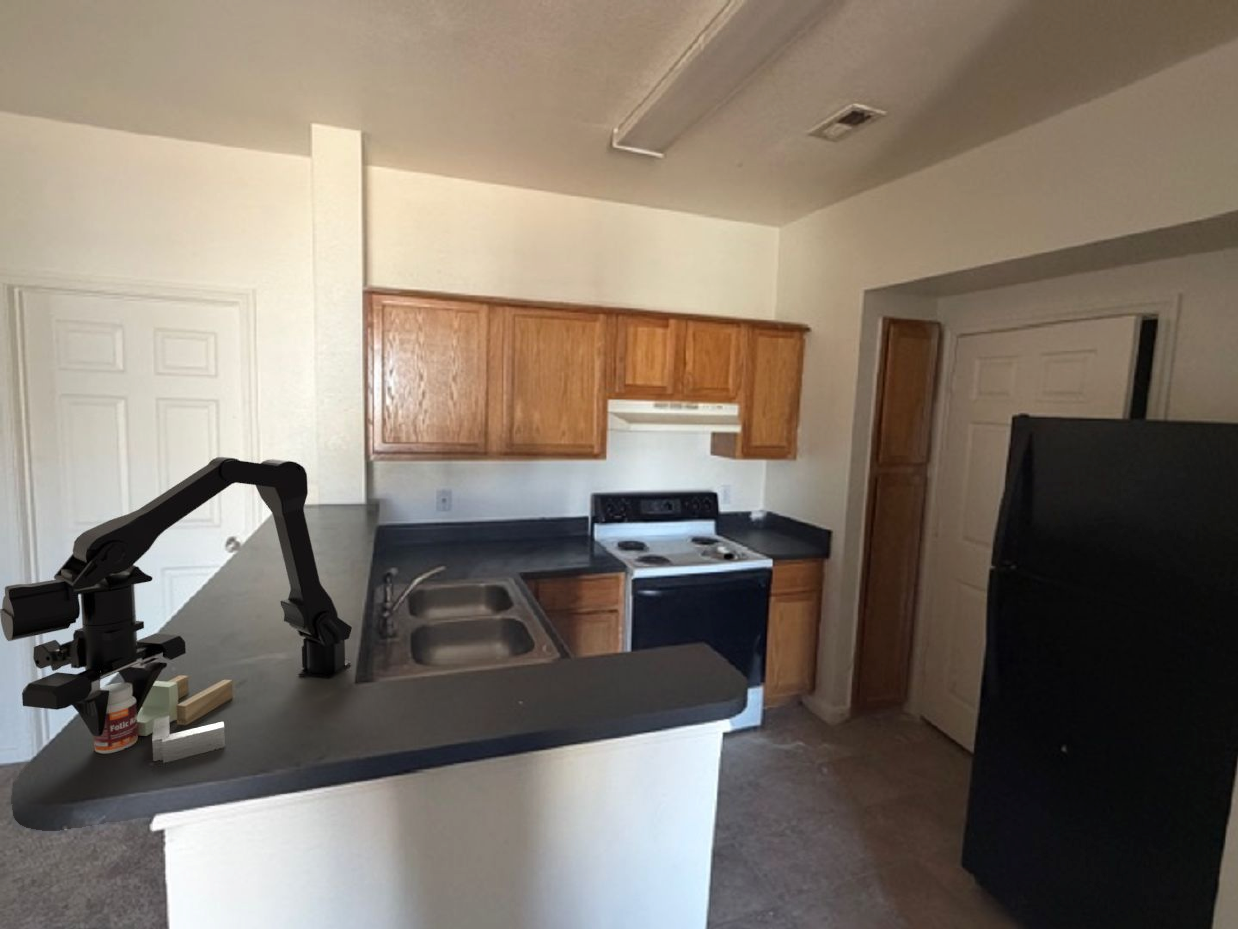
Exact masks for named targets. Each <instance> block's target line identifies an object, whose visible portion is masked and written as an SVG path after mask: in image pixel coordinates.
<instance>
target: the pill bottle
mask: <svg viewBox="0 0 1238 929" xmlns="http://www.w3.org/2000/svg"><path fill="white" fill-rule="evenodd" d="M100 690H109V698H108V705H107V712H106V719H105V725H104V729H103V733H102V735H101V736H93V743H94V751H95V752H96V753H99V754H101V755H102V754H103V755H104V754H112V753H116V752H120V751H123V750H125V748H126V749H128V748H130V747H132V746H134V745H135V743H136V742H138V738H139V737H138V736H139V735H137V732H138V731H137V709H136V708H137V707H136V699H135V697H133V696H132V692H133V690H132V684H131V683H126V682H125V683H124V682H116V683H111V684H106V685H105V686H104V685H103V686H102V687H100Z"/></svg>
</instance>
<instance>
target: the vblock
mask: <svg viewBox="0 0 1238 929" xmlns="http://www.w3.org/2000/svg"><path fill="white" fill-rule="evenodd" d="M170 723H171V722H170V719H169V716H166V717H161V718H157V719H154V724H153V732H152V738H151V739H152V740H151V741H152V760H153V761H156V760H160V761H162V763H163V764H166V763H170V762H174V761H177V760H181V759H185V758H188V757H191V756H197V755H200V754H203V753H208V752H211V751H215V749H216V750H219V748H220V749H223V748H225V747H226V741H225V740H226V739H225V736H226V735H225V723H224V721H221V722H220V721H219V722H216V723H212V724H207V725H204V726H203V725H202V726H199V727H195V728H190V729H186V730H182V731H179V732H175V733H174V732H172V733H171V727H170V726H171V724H170ZM153 761H152V762H153ZM156 762H157V761H156ZM165 762H166V763H165Z"/></svg>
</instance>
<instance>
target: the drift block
mask: <svg viewBox="0 0 1238 929" xmlns="http://www.w3.org/2000/svg"><path fill="white" fill-rule="evenodd" d="M178 704H179V699H178V687H177V683H174V682H167V681H161V680H156V681H155V683H154V684H153V686H152V688H151V690H150V692H149V693H148V695H147V697H146V699H145V701H144V703H143V707H142V708H141V709H140V711H139V713H138V715H137V731H138V732H137V735H138V736H142V737H143V736H144V737H147V736H149V735H150V734H153V724H154V719H157V718H161V717H166V716H169V719H170V723H172V722H173V721H175V720H177V705H178Z"/></svg>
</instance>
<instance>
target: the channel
mask: <svg viewBox="0 0 1238 929" xmlns="http://www.w3.org/2000/svg"><path fill="white" fill-rule="evenodd" d="M166 682H174V683H177V687H178V700H179V699H181V698H182V697H184V696H186V695H188V694H189V693H190V692H189V690H190V688H189V676H188V675H178V676H175V677H174V678H172V679H170V680H168V681H166ZM233 691H234V690H233V680H232V679H223V680H222V679H221V680H220V681H219V682H217V683H215V684H212V685H211V686H209V687H207V688H206V689H204V690H202V691H201V692H198V693H197V694H195V695H193V696H191V697H189V698H187V699H186V700H184V701H182V702H180V703H178V705H177V719H176V720H177V725H180V726H182V725H183V726H187V725H189V724H190V723H192V722H194V721H195V720H197V719H199V718H201V717H203V716H205V715H206V714H207V713H209V712H212V710H215V709H216V708H218V707H219V706H221V705H223V704H225V703H227V702H228V701H229V700H232V699H233V697H234V696H233V694H234V693H233ZM142 707H143V705H142ZM142 707H141V708H142Z"/></svg>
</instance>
